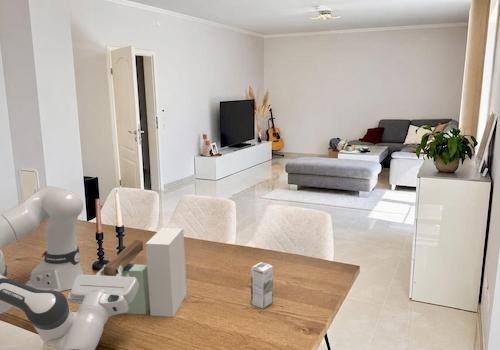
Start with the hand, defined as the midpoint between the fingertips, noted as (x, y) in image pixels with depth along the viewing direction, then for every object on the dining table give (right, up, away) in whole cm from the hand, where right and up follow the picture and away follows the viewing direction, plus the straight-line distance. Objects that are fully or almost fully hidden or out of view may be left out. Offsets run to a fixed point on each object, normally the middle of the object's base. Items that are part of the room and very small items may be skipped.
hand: (113, 266), depth 136 cm
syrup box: (+48, -17, +15) cm, 53 cm away
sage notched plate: (+1, -18, +12) cm, 22 cm away
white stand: (+15, -17, +15) cm, 27 cm away
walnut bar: (+1, -1, +8) cm, 8 cm away
